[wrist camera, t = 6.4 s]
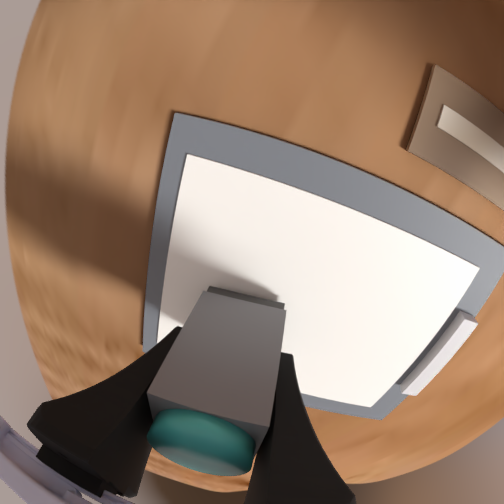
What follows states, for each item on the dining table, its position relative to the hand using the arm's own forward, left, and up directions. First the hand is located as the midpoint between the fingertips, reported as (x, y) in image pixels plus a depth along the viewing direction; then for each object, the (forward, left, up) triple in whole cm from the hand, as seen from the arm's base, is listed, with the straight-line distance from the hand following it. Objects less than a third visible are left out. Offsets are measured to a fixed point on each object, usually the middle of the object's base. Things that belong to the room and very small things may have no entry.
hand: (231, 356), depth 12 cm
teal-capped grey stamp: (0, 0, -2) cm, 2 cm away
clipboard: (-3, -1, -3) cm, 5 cm away
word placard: (-7, -12, -3) cm, 14 cm away
